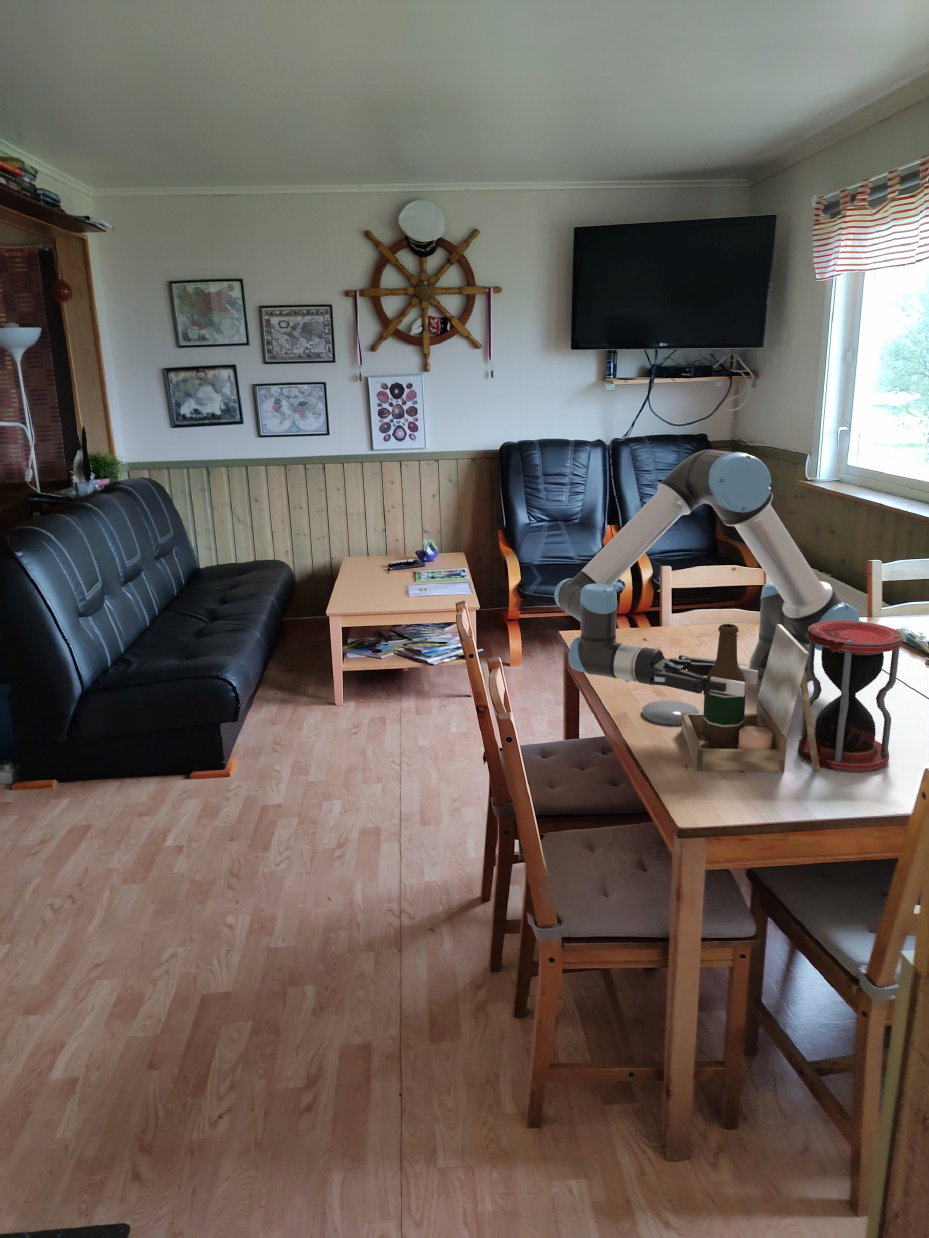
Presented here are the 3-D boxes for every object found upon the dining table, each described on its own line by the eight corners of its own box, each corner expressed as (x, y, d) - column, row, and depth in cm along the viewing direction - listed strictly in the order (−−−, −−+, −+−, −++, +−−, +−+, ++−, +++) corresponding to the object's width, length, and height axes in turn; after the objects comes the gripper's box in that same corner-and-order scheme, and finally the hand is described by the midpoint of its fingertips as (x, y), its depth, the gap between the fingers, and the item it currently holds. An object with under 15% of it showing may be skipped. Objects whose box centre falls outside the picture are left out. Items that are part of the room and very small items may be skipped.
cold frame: (792, 734, 177) (801, 623, 170) (820, 775, 158) (832, 652, 152) (681, 733, 179) (685, 623, 173) (696, 773, 161) (702, 652, 154)
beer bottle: (721, 751, 166) (728, 633, 160) (694, 737, 173) (699, 623, 166) (751, 743, 169) (758, 627, 163) (723, 730, 176) (729, 618, 170)
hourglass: (805, 732, 176) (815, 616, 169) (892, 747, 168) (906, 625, 161) (790, 762, 163) (801, 636, 156) (884, 779, 155) (899, 648, 148)
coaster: (693, 705, 193) (693, 700, 192) (703, 725, 181) (703, 721, 181) (639, 704, 194) (639, 700, 193) (645, 724, 182) (645, 720, 182)
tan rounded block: (765, 754, 166) (768, 726, 165) (774, 768, 161) (776, 738, 159) (734, 754, 167) (736, 726, 165) (741, 767, 161) (743, 738, 159)
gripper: (658, 668, 187) (765, 686, 174) (619, 696, 171) (732, 718, 158) (659, 635, 185) (767, 651, 172) (619, 660, 169) (734, 680, 156)
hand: (750, 683), depth 165 cm, fingers closed on beer bottle, 7 cm apart
